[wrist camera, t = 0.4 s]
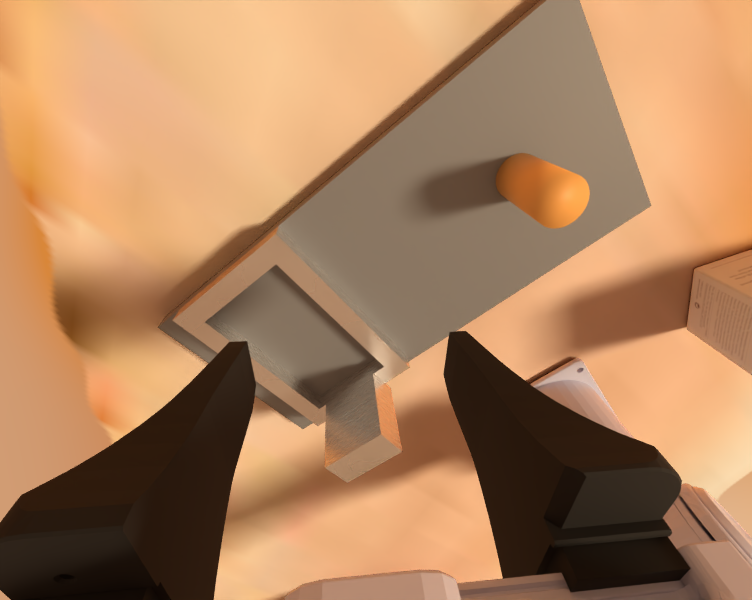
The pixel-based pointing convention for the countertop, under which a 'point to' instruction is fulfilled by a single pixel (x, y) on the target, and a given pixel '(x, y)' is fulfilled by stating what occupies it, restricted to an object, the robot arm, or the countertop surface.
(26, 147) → the countertop surface
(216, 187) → the countertop surface
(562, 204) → the post
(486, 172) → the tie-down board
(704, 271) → the small box
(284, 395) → the beige open rectangular frame
